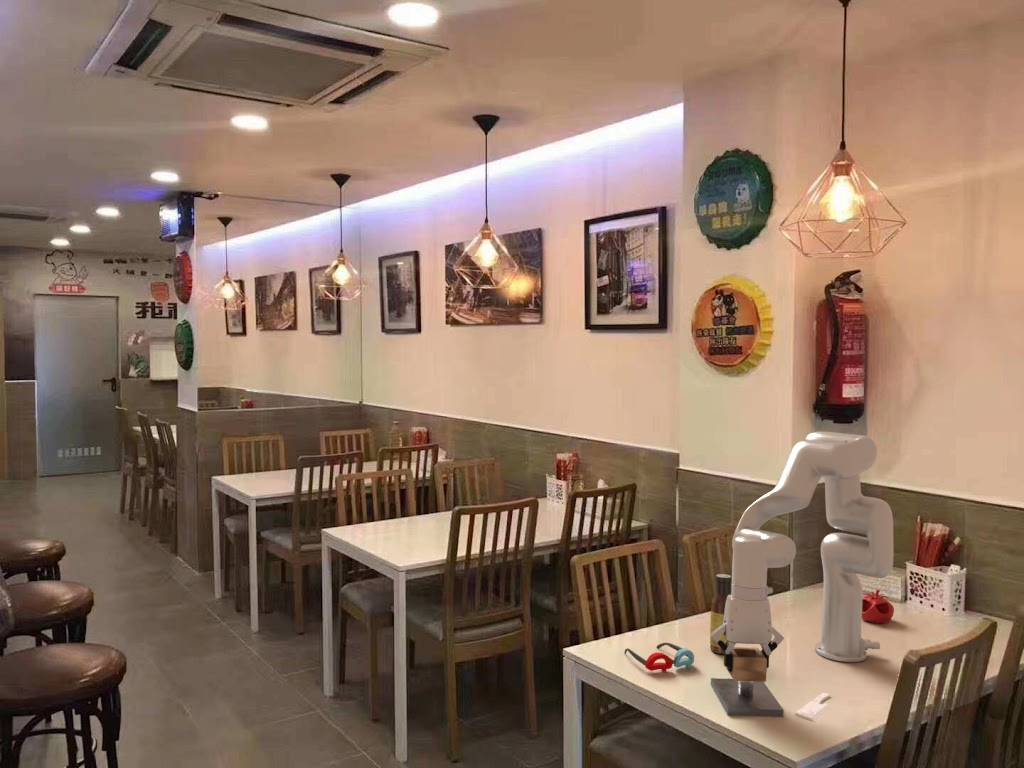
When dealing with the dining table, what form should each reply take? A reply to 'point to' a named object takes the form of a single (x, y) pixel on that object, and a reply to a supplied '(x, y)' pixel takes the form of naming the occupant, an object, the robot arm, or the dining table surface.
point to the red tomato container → (876, 608)
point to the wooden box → (748, 665)
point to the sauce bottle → (719, 608)
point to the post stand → (746, 698)
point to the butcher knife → (815, 708)
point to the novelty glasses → (665, 658)
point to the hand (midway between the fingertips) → (746, 669)
